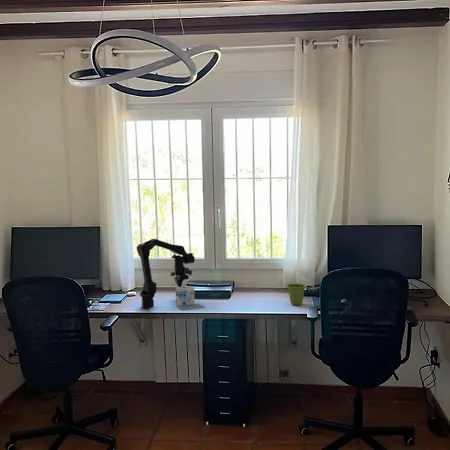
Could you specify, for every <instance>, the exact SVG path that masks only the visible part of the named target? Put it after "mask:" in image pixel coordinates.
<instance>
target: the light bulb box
mask: <svg viewBox="0 0 450 450" xmlns="http://www.w3.org/2000/svg"><path fill="white" fill-rule="evenodd" d="M175 304H176V305H177V306H185V305H193V304H195V287H194V286H192V285H186V286H181V287H178V286H175Z"/></svg>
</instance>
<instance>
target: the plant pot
mask: <svg viewBox="0 0 450 450" xmlns="http://www.w3.org/2000/svg"><path fill="white" fill-rule="evenodd" d="M286 286H287V290H288V295H289V301H290V304H292V305H302V304H303V301H304V295H305V290H306V287H307V285H306V284H303V283H289V284H287V285H286Z"/></svg>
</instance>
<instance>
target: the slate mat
mask: <svg viewBox="0 0 450 450" xmlns="http://www.w3.org/2000/svg"><path fill="white" fill-rule="evenodd" d="M175 308H178V309H179V310H180V311H190V310H196V309H197V310H198V309H206V306H205V305H202V304H200V303H194V304H192V305H182V306H178V305H177V306H175Z"/></svg>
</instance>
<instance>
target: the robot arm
mask: <svg viewBox="0 0 450 450" xmlns="http://www.w3.org/2000/svg"><path fill="white" fill-rule="evenodd" d="M155 246H156V247H159V248H163V249H165V250H167V251H169V252H171V253H173V255H172V256H171V259H174V265H173V268H174V271H171V272H170V277H173V280H174V282H175V283H176V287H183V286H182V285H183V282H184V281H185V280H189V277H190V276H192V275H193V270H191V269H189V267H187V266H185V265H189V264H195V261H196V260H195V259H196V258H195V256H194V253H193V252H187V251H186V250H185V246H183V245H179V244H171V243H169V242H165V241H162V240H160V239H157V238H151V239H149V240H147V241H144V242H143V243H139V244H137V246H136V252H137V254H138V256H139V258H140V260H141V268H142V273H143V280H144V282H143V287H142V290H141V292H140V293H139V296H140V298H141V306H140V307H141V308H142V309H143V310H144V309H150V308H154V307H155V306H154V305H155V303H154V302H155V301H154V298H155V294H156V292H157V290H158V287H157V283H156V282H155V281H154V280H153V276H152V272H151V271H152V270H151V263H150V259H149V257H150V254H151V250H153V249H154V248H155Z"/></svg>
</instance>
